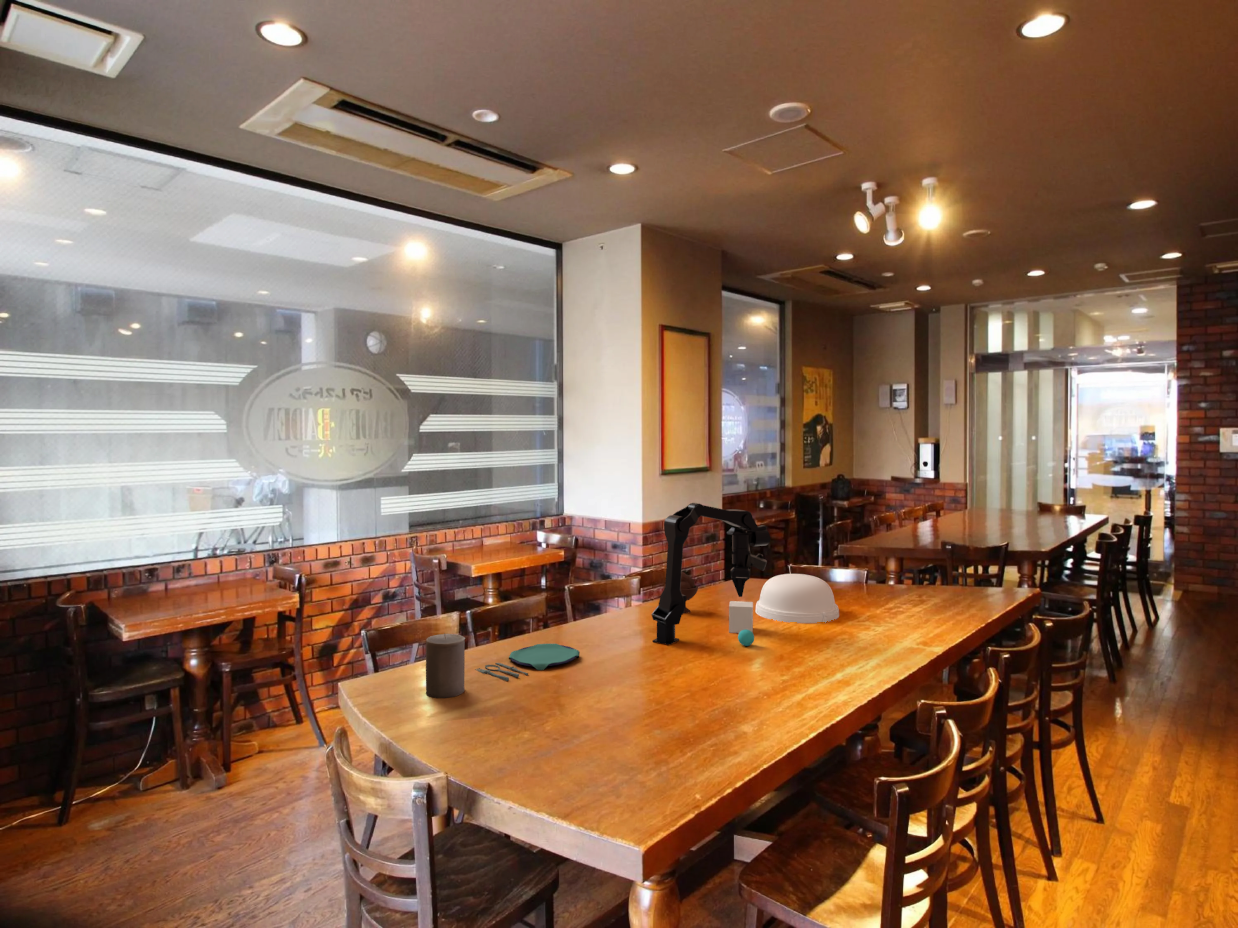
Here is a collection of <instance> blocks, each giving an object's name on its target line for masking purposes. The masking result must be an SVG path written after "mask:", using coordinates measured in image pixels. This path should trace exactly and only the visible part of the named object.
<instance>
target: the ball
mask: <svg viewBox="0 0 1238 928" xmlns="http://www.w3.org/2000/svg"><path fill="white" fill-rule="evenodd" d="M737 639H738V642H739V644H740V645H741V646H743V647H749V646H751V645H753V643H754V642H755V634H754V632H753V633H752V632H751V631H750V630H747V629H745V630H742V631H740V633H738V635H737Z"/></svg>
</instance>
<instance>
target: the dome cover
mask: <svg viewBox="0 0 1238 928" xmlns="http://www.w3.org/2000/svg"><path fill="white" fill-rule="evenodd" d="M755 614H757V616H760V617H761V618H764V619H768V620H771V619H773V620H772V621H776V620H777V622H782V621H783V623H790V622H797V623H796V624H818V623H817V622H825V623H824V624H827V623H828V622H832V621H831V620H833V621H835V620H838V619H839V617H840V609H839V606H838V604H836V601H835V596H834V593H833V590H832V588H831V586H830V585H829V583H827V581H825V580H823V579H822V578H819V577H817V576H814V575H809V574H804V573H784V574H778V575H775V576H773V577H770V578H769V579H768V580H766V582H765V583H764V584H763V586H762V588H761V591H760V595H759V600H757V601H756V604H755ZM834 619H835V620H834ZM827 621H828V622H827ZM826 622H827V623H826Z"/></svg>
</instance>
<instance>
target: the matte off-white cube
mask: <svg viewBox="0 0 1238 928" xmlns="http://www.w3.org/2000/svg"><path fill="white" fill-rule="evenodd" d="M753 619H754V602H753V601H741V600H740V601H738V600H737V601H736V600H730V601H729V605H728V633H730V634H739V633H740V631H742V630H745V629H747V630H750V631H751V632H752V633H753V634H754V630H753V629H754V620H753Z"/></svg>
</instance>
